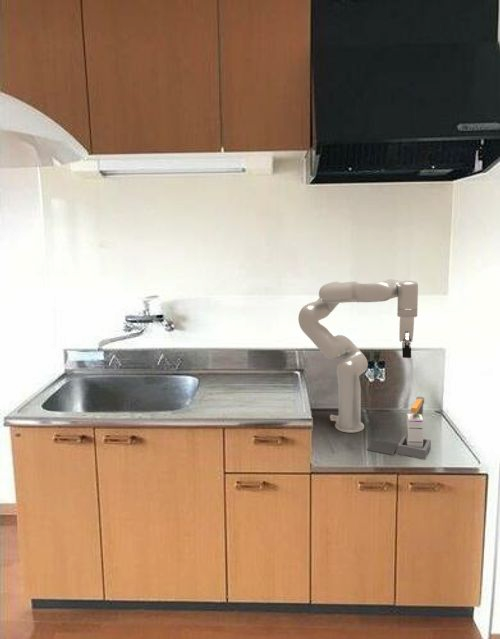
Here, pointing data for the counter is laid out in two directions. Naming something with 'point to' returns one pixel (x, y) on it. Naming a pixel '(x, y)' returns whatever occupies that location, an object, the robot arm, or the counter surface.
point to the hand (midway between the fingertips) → (406, 354)
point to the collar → (414, 448)
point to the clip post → (420, 410)
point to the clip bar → (417, 404)
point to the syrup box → (414, 430)
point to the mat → (383, 447)
